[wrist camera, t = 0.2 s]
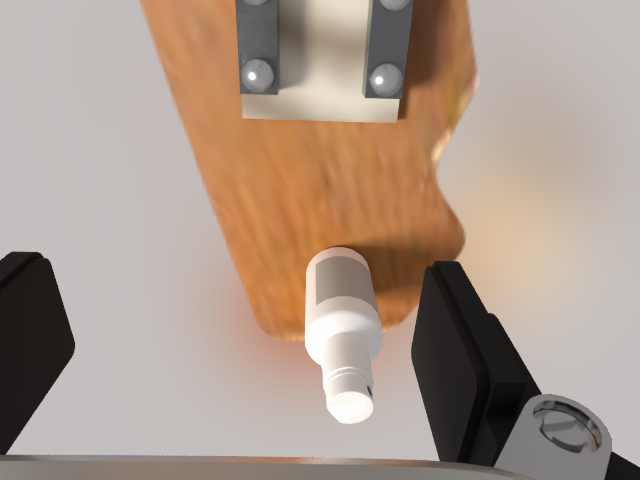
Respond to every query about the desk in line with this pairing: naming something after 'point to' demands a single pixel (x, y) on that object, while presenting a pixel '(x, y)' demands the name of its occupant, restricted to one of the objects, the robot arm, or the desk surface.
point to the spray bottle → (343, 330)
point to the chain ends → (380, 50)
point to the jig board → (321, 66)
